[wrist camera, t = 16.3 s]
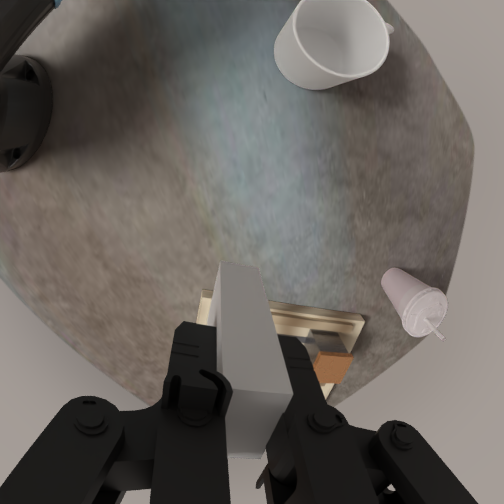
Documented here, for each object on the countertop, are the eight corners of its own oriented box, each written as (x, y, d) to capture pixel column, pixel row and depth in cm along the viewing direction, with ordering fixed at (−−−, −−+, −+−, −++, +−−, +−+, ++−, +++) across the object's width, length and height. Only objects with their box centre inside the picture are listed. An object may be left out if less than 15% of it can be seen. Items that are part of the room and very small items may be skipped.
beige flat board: (184, 389, 45) (183, 402, 43) (202, 289, 39) (201, 300, 37) (317, 401, 49) (321, 413, 47) (359, 313, 43) (367, 324, 41)
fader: (298, 353, 42) (308, 382, 36) (309, 327, 40) (321, 355, 35) (327, 356, 43) (339, 383, 37) (339, 330, 41) (353, 357, 36)
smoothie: (364, 282, 41) (414, 343, 28) (397, 249, 40) (458, 298, 27) (387, 307, 43) (435, 367, 30) (418, 276, 42) (475, 328, 29)
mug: (379, 75, 32) (431, 63, 22) (288, 100, 32) (316, 89, 22) (354, 12, 28) (396, -18, 18) (260, 33, 29) (276, -3, 19)
